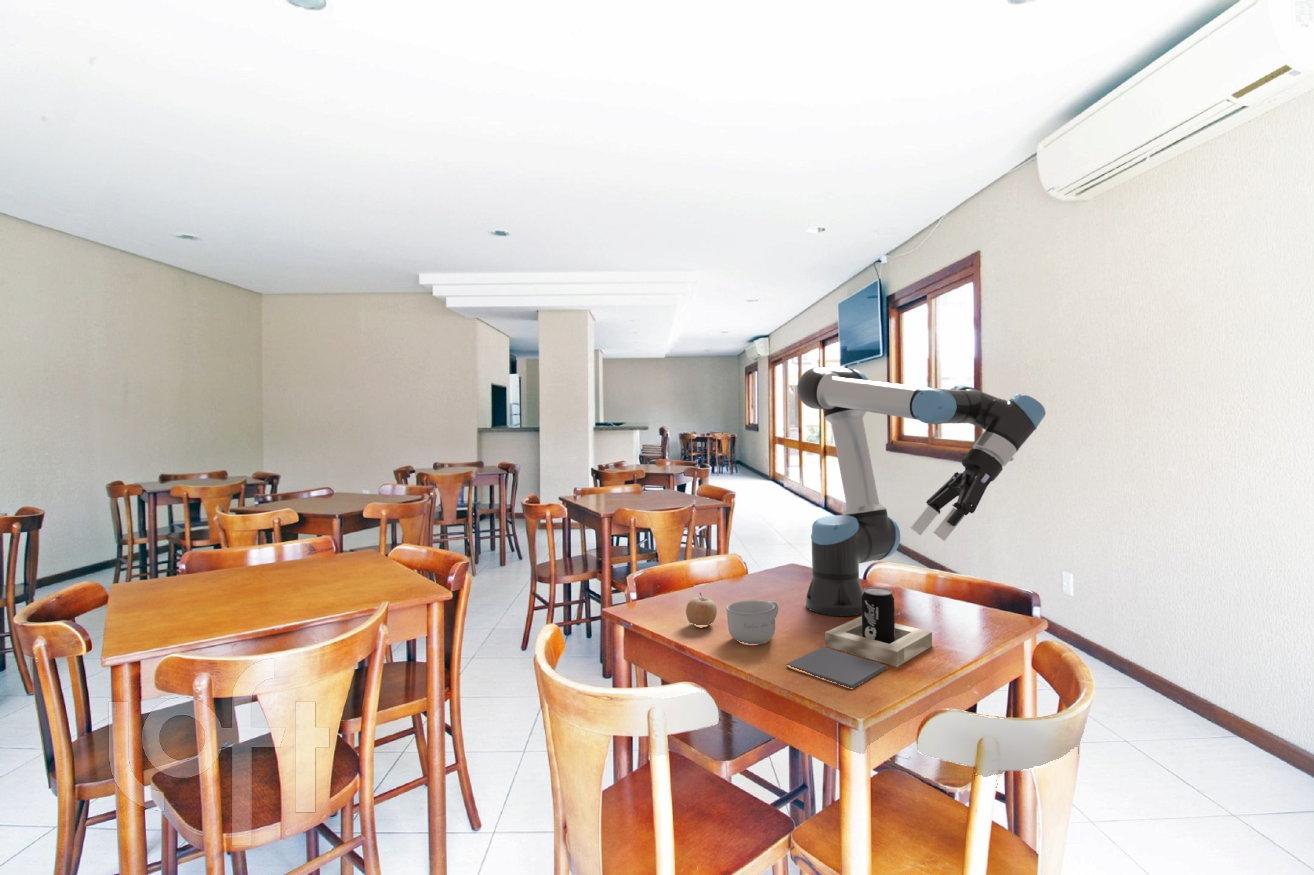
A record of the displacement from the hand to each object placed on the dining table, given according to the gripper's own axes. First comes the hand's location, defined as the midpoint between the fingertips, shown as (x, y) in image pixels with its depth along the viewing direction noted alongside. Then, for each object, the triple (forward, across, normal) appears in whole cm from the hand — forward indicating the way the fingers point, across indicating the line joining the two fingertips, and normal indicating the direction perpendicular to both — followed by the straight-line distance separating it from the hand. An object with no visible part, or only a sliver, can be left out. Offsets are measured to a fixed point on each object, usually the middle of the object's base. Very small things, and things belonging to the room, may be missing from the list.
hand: (926, 533), depth 130 cm
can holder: (+25, 0, -7) cm, 26 cm away
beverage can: (+26, 0, -7) cm, 26 cm away
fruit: (+49, +12, +23) cm, 55 cm away
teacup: (+42, +3, +13) cm, 44 cm away
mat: (+34, -12, +1) cm, 36 cm away
